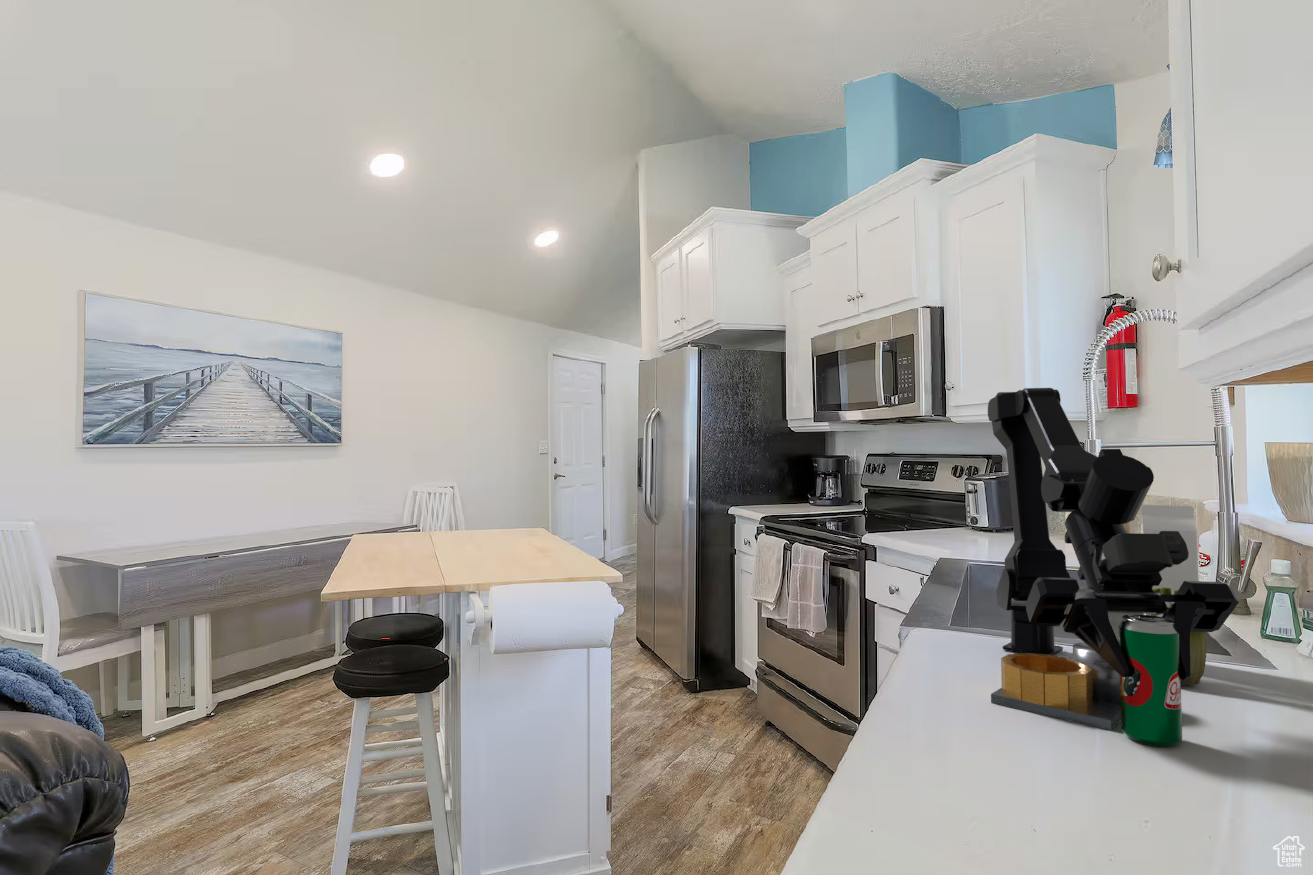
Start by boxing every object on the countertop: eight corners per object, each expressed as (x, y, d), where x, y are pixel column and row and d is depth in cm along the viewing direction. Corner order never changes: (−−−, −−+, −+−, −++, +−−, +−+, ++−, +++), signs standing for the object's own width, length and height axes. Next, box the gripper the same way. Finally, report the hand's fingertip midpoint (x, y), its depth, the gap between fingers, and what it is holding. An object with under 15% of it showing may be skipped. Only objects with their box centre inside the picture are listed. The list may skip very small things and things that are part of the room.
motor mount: (1030, 678, 91) (1029, 619, 92) (1141, 700, 83) (1139, 635, 83) (991, 702, 82) (989, 637, 82) (1111, 730, 73) (1109, 657, 74)
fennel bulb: (1213, 689, 87) (1210, 591, 87) (1177, 691, 86) (1174, 592, 87) (1173, 675, 93) (1170, 583, 93) (1139, 677, 92) (1136, 584, 92)
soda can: (1182, 753, 67) (1178, 626, 68) (1119, 740, 70) (1115, 619, 71) (1183, 737, 71) (1179, 617, 72) (1123, 726, 74) (1120, 611, 75)
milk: (1201, 673, 94) (1197, 507, 94) (1146, 666, 97) (1142, 505, 98) (1196, 662, 99) (1192, 504, 100) (1143, 656, 102) (1140, 503, 103)
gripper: (1032, 503, 77) (1075, 627, 66) (1224, 505, 74) (1304, 636, 63) (1011, 565, 85) (1046, 686, 74) (1185, 569, 81) (1249, 697, 70)
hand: (1156, 676), depth 70 cm, fingers closed on soda can, 5 cm apart
